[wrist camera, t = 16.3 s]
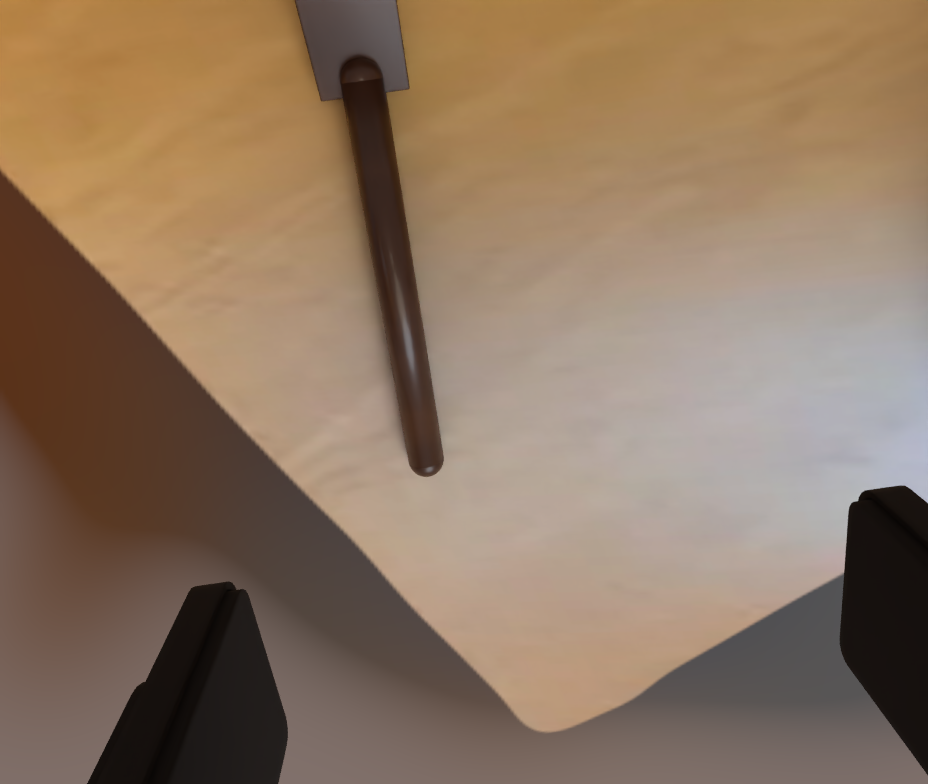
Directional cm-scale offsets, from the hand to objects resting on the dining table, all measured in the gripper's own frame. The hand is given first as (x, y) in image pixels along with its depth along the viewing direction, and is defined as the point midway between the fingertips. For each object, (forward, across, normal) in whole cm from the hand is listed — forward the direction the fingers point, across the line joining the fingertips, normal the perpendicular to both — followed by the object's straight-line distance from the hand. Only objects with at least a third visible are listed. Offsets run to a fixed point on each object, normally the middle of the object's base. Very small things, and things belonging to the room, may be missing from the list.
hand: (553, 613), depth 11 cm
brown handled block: (+28, +4, -4) cm, 29 cm away
